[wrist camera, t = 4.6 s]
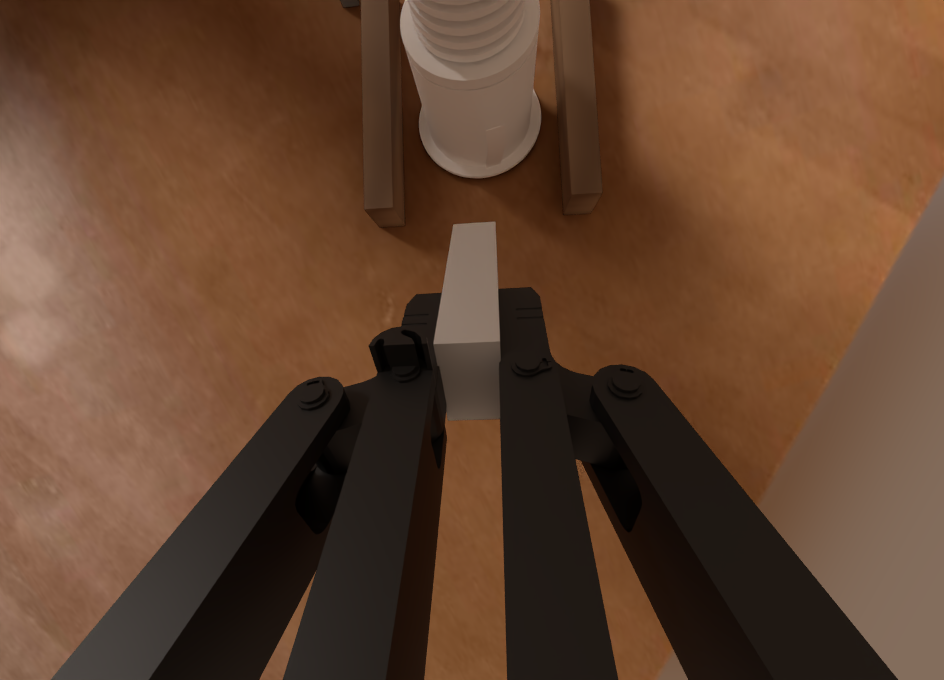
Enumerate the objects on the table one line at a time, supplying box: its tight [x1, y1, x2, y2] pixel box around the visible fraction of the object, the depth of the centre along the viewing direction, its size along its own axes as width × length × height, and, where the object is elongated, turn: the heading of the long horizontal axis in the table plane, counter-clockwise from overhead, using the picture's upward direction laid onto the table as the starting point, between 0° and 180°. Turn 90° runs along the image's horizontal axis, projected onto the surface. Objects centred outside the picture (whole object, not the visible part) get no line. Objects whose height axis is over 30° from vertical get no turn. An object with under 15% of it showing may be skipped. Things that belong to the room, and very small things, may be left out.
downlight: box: [400, 0, 541, 178], centre depth 17 cm, size 8×7×10 cm
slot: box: [361, 0, 603, 227], centre depth 21 cm, size 12×14×2 cm
